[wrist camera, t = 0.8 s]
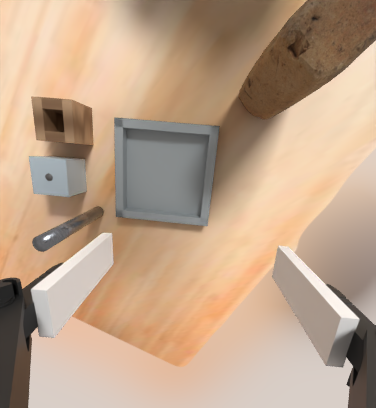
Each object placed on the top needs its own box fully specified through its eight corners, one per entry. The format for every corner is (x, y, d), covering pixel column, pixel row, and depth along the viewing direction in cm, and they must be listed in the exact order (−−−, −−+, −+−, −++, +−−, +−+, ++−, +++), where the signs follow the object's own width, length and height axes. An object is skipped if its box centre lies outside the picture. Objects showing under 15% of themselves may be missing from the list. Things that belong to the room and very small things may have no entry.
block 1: (53, 156, 40) (28, 156, 34) (85, 159, 40) (65, 159, 34) (56, 188, 42) (33, 193, 36) (87, 191, 42) (68, 197, 36)
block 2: (256, 127, 36) (322, 96, 17) (231, 96, 35) (270, 24, 16) (305, 83, 34) (446, -13, 14) (280, 48, 33) (396, -107, 13)
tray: (120, 119, 37) (114, 117, 35) (218, 128, 36) (219, 126, 34) (120, 213, 42) (115, 216, 40) (206, 222, 42) (207, 226, 39)
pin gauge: (93, 206, 42) (31, 235, 27) (103, 207, 42) (47, 237, 27) (93, 216, 43) (33, 250, 27) (103, 217, 43) (49, 252, 27)
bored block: (57, 105, 37) (31, 96, 31) (91, 108, 37) (71, 99, 31) (60, 142, 39) (36, 140, 33) (93, 145, 39) (74, 143, 33)
